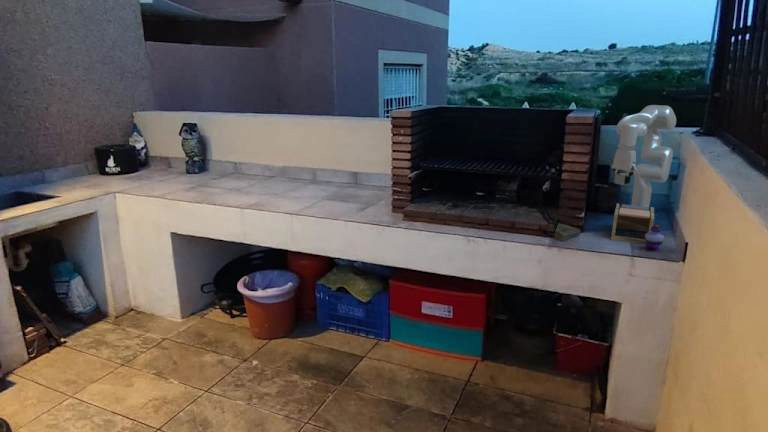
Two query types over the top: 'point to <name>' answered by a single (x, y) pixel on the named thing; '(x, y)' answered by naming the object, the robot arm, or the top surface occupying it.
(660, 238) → the potion bottle
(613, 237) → the frame
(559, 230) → the marble piece
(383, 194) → the top surface
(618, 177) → the cube
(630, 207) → the trapdoor
